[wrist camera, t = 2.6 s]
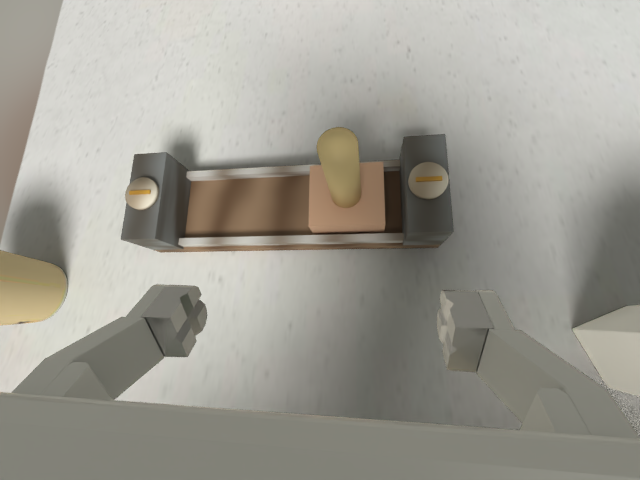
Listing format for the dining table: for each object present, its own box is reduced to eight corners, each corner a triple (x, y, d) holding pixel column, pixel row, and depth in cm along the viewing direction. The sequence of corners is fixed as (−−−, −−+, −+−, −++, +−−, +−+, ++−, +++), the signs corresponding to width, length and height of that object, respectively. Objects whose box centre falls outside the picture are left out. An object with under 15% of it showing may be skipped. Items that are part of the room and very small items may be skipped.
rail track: (432, 166, 39) (447, 129, 31) (438, 247, 37) (455, 229, 29) (170, 179, 44) (129, 150, 36) (160, 252, 42) (115, 237, 34)
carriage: (382, 173, 38) (388, 101, 25) (384, 231, 36) (392, 185, 24) (314, 177, 39) (288, 109, 26) (313, 233, 37) (284, 190, 25)
